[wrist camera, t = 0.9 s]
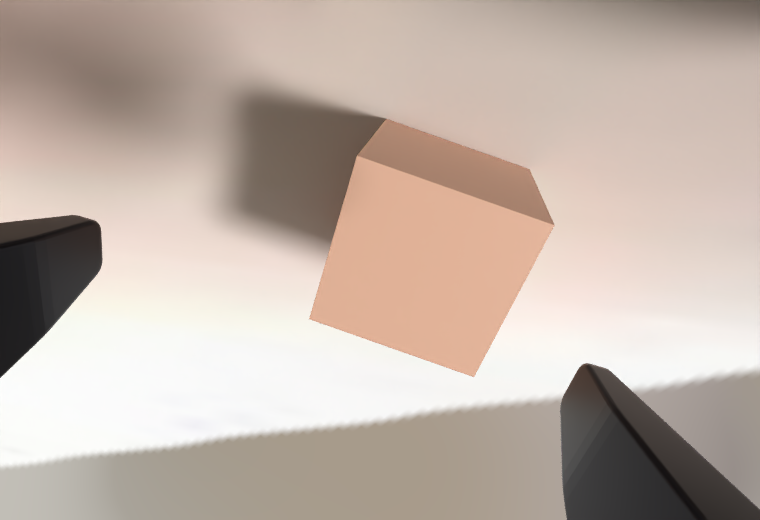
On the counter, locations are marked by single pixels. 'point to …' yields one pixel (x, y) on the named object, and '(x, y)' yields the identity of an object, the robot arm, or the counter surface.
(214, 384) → the counter surface
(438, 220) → the terracotta block
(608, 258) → the counter surface
